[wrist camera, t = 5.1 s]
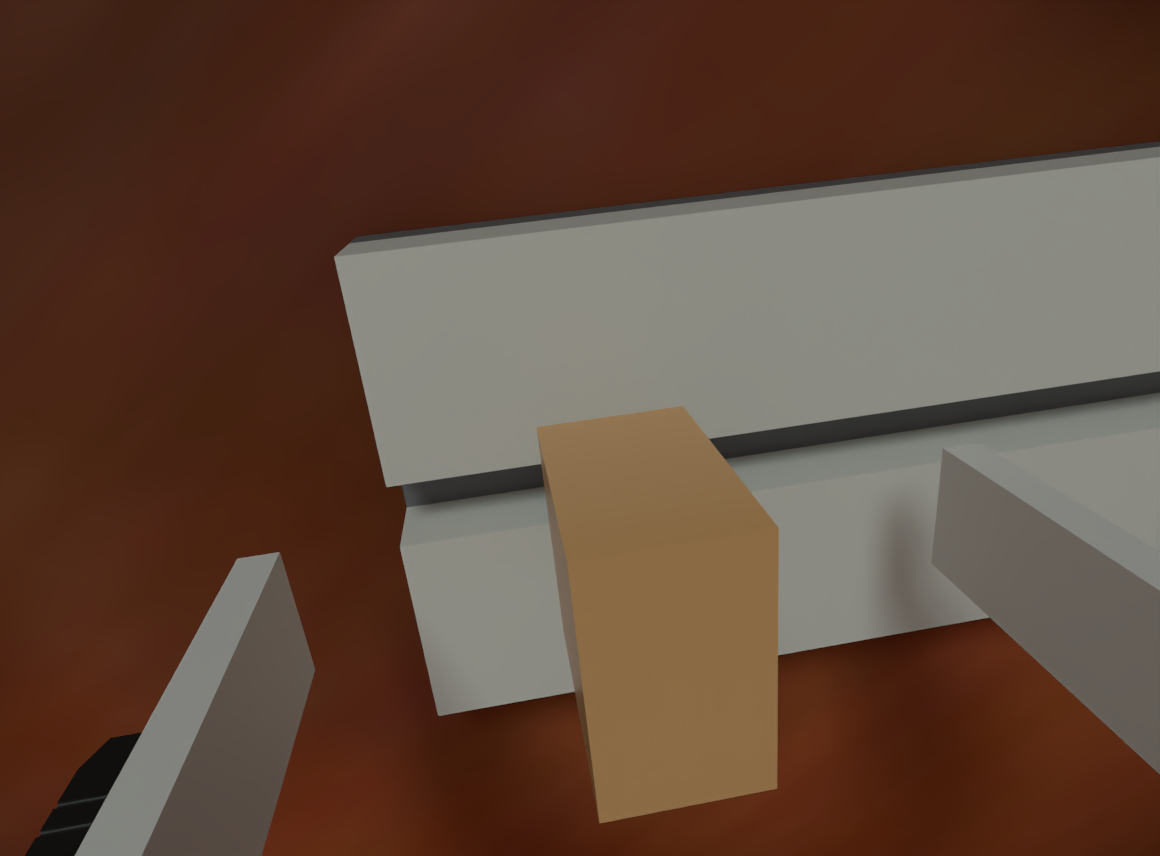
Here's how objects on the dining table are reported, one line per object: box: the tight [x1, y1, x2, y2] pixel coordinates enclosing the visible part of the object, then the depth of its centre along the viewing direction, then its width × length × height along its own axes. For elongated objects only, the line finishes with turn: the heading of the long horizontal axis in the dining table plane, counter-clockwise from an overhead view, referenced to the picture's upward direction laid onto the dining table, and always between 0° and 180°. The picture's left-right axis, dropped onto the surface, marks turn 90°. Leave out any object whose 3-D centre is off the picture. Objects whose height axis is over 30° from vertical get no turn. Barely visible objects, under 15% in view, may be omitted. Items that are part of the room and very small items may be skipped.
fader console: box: [334, 141, 1160, 716], centre depth 19 cm, size 12×26×3 cm, turn 96°
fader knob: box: [536, 406, 779, 823], centre depth 15 cm, size 5×3×9 cm, turn 6°
